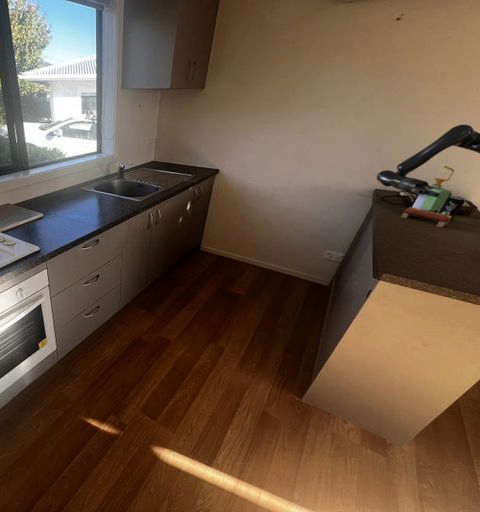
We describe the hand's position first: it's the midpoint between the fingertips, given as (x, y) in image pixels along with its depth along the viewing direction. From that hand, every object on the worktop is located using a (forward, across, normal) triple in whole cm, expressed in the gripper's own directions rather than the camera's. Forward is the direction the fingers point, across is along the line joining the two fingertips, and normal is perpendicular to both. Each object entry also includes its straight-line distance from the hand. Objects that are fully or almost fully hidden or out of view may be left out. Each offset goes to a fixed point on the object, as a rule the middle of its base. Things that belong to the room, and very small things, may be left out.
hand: (444, 195), depth 143 cm
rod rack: (-2, 0, +15) cm, 15 cm away
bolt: (-18, +29, +15) cm, 37 cm away
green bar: (-3, 0, +8) cm, 8 cm away
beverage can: (-5, +12, +15) cm, 20 cm away
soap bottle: (-19, +15, +15) cm, 28 cm away
